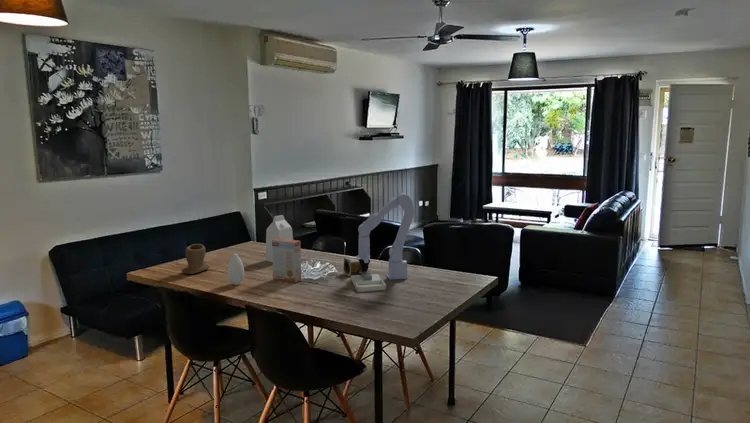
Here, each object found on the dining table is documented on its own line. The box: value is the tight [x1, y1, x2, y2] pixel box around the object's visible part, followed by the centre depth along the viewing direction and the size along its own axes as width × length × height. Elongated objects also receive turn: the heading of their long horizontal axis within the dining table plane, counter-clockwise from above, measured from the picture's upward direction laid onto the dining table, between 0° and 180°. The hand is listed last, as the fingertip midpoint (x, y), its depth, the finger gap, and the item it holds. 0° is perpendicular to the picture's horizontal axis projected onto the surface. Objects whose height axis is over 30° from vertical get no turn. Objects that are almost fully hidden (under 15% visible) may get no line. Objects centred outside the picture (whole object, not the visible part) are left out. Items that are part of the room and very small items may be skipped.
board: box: [350, 273, 383, 285], centre depth 271 cm, size 14×11×2 cm
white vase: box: [227, 251, 245, 286], centre depth 266 cm, size 8×8×18 cm
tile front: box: [363, 273, 372, 280], centre depth 269 cm, size 4×4×2 cm
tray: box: [353, 279, 387, 293], centre depth 261 cm, size 14×10×2 cm
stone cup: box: [181, 243, 211, 275], centre depth 289 cm, size 15×12×15 cm
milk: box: [265, 214, 294, 263], centre depth 313 cm, size 12×12×26 cm
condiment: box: [342, 257, 369, 277], centre depth 287 cm, size 7×8×12 cm
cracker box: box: [272, 238, 302, 284], centre depth 273 cm, size 14×6×21 cm, turn 61°
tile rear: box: [360, 270, 371, 278], centre depth 274 cm, size 4×4×2 cm
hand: (364, 273), depth 278 cm, fingers closed
